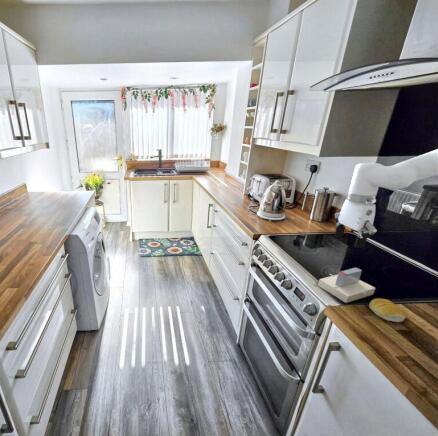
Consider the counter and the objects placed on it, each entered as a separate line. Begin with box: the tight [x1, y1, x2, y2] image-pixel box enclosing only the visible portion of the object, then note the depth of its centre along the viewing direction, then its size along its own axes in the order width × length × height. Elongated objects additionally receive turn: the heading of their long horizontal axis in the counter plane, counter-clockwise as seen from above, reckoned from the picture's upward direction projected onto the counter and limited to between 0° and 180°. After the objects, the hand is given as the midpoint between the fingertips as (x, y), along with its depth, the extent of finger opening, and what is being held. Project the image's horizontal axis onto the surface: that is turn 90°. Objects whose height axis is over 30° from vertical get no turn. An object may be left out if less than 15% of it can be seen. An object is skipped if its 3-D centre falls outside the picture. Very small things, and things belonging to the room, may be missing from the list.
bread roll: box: [368, 298, 407, 323], centre depth 81 cm, size 8×9×4 cm
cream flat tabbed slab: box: [317, 273, 376, 304], centre depth 93 cm, size 14×13×3 cm
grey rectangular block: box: [335, 267, 363, 287], centre depth 91 cm, size 9×2×6 cm, turn 107°
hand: (348, 241), depth 92 cm, fingers open, 9 cm apart
